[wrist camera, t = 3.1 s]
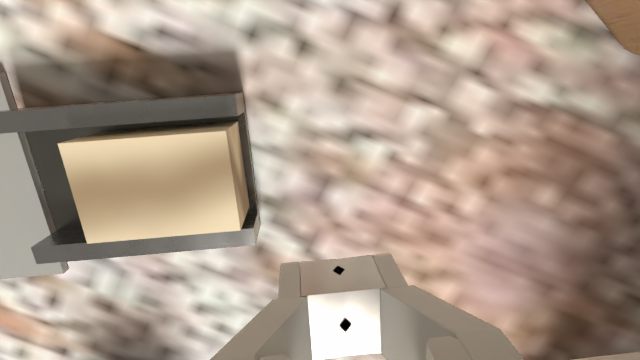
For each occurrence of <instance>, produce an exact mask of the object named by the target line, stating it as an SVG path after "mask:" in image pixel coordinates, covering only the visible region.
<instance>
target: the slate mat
mask: <svg viewBox="0 0 640 360" xmlns="http://www.w3.org/2000/svg"><path fill="white" fill-rule="evenodd" d="M11 109H17V107H16V104H15V101H14V98H13V94H12V91H11V88H10V85H9V82H8V79H7V76H6V73H0V111H3V110H11ZM55 231H56V228H55V225H54V222H53V219H52V216H51V213H50V209H49V206H48V203H47V200H46V197H45V194H44V191H43V188H42V185H41V181H40V178H39V175H38V172H37V169H36V166H35V163H34V160H33V157H32V153H31V150H30V147H29V144H28V141H27V138H26V135H25V132H16V133H2V134H0V279H7V278H18V277H29V276H40V275H52V274H63V273H65V272H66V271H67V270H68V265H67V262H56V263H45V264H36V261H35V258H34V256H33V253H32V250H31V247H32V246H34V245H35V244H37V243H38V242H40V241H41V240H43V239H44V238H46V237H47V236H49V235H51V234H52V233H54V232H55Z"/></svg>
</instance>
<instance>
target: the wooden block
mask: <svg viewBox="0 0 640 360" xmlns="http://www.w3.org/2000/svg"><path fill="white" fill-rule="evenodd" d="M585 1H586V2H587V3H588V4H589V6H590V7H591V8H592V9H593V10H594V12H595V13H596V14H597V15H598V17H599V18H600V19H601V20H602V22H603V23H604V24H605V25H606V26H607V28H608V29H609V30H610V31H611V33H612V34H613V35H614V36H615V38H616V39H617V40H618V41H619V42H620V44H621V45H622V46H623V47H624V49H626V50H628V51H630V52H632V53H634V54H637V55H640V0H585Z"/></svg>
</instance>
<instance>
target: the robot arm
mask: <svg viewBox="0 0 640 360" xmlns="http://www.w3.org/2000/svg"><path fill="white" fill-rule="evenodd" d="M371 353H381V354H382V355H383V356H384V357H385V358H386V359H387V360H524V358H523V357H522V356H521V355H520V353H519V352H518V351H517V350H516V348H515V347H514V346H513V345H512V343H511V342H510V341H509V340H508V338H507V337H506V336H505V335H504V333H503V332H502V331H501V330H500V329H499V328H497V327H495V326H493V325H491V324H489V323H487V322H485V321H483V320H481V319H479V318H477V317H475V316H473V315H471V314H469V313H467V312H465V311H463V310H461V309H459V308H457V307H455V306H453V305H451V304H449V303H447V302H445V301H444V300H442V299H440V298H438V297H436V296H434V295H432V294H430V293H428V292H426V291H424V290H422V289H420V288H418V287H416V286H414V285H412V286H408V284H407V282H406V281H405V279H404V277H403V275H402V273H401V271H400V270H399V268H398V266H397V264H396V262H395V261H394V259H393V257H392V255H391V254H390V253H383V254H376V255H367V256H359V257H351V258H342V259H329V260H316V261H303V262H300V263H299V262H290V263H282V264H281V265H280V277H279V293H278V299H276V300H272V301H271V302H270V303H269V304H268V305H267V306H266V307H265V308H264V309H263V310H262V311H261V312H259V313H258V314H257V315H256V316H255V317H254V318H253V319H252V320H251V321H250V322H249V323H248V324H247V325H246V326H245V327H244V328H243V329H242V330H241V331H240V332H239V333H237V334H236V335H235V336H234V337H233V338H232V339H231V340H230V341H229V342H228V343H227V344H226V345H225V346H224V347H223V348H222V349H221V350H220V351H219V352H218V353H217V354H216V355H214V356H213V357H212V358H211V359H210V360H319V359H326V358H333V357H340V356H347V355H359V354H371ZM572 360H640V352H632V353H623V354H615V355H606V356H598V357H589V358H581V359H572Z"/></svg>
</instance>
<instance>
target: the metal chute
mask: <svg viewBox="0 0 640 360" xmlns="http://www.w3.org/2000/svg"><path fill="white" fill-rule="evenodd" d="M234 121H238V126H239V133H240V140H241V148H242V155H243V162H244V169H245V177H246V184H247V191H248V199H249V209H248V212H247V214H246V217H245V220H244V223H243V225H242V228H241V231H229V232H218V233H206V234H195V235H183V236H171V237H160V238H148V239H137V240H125V241H114V242H102V243H91V244H87V241H86V238H85V235H84V231H83V228H82V225H81V221H80V218H79V214H78V211H77V208H76V204H75V201H74V198H73V194H72V191H71V187H70V184H69V181H68V177H67V174H66V171H65V167H64V164H63V160H62V157H61V154H60V150H59V147H58V143H62V142H65V141H68V140H72V139H75V138H78V137H82V136H85V135H89V134H92V133H95V132H100V131H114V130H127V129H140V128H154V127H167V126H180V125H194V124H207V123H220V122H234ZM16 132H25V133H26V136H27V139H28V142H29V145H30V148H31V151H32V154H33V158H34V161H35V164H36V167H37V170H38V173H39V176H40V179H41V182H42V186H43V189H44V192H45V195H46V198H47V201H48V204H49V207H50V211H51V214H52V217H53V220H54V223H55V226H56V229H57V231H55V232H54V233H52V234H51V235H49V236H47V237H46V238H44V239H43V240H41V241H40V242H38V243H37V244H35V245H34V246H32V247H31V250H32V253H33V256H34V258H35V261H36V264H45V263H56V262H68V261H79V260H90V259H102V258H113V257H124V256H136V255H147V254H158V253H170V252H181V251H192V250H204V249H215V248H226V247H238V246H249V245H256V241H257V237H258V233H259V229H260V218H259V210H258V202H257V194H256V187H255V179H254V171H253V163H252V156H251V148H250V140H249V132H248V125H247V117H246V109H245V101H244V94H243V92H236V93H223V94H209V95H195V96H181V97H167V98H153V99H139V100H125V101H111V102H97V103H84V104H70V105H56V106H42V107H28V108H19V109H11V110H3V111H0V134H2V133H16Z"/></svg>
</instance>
